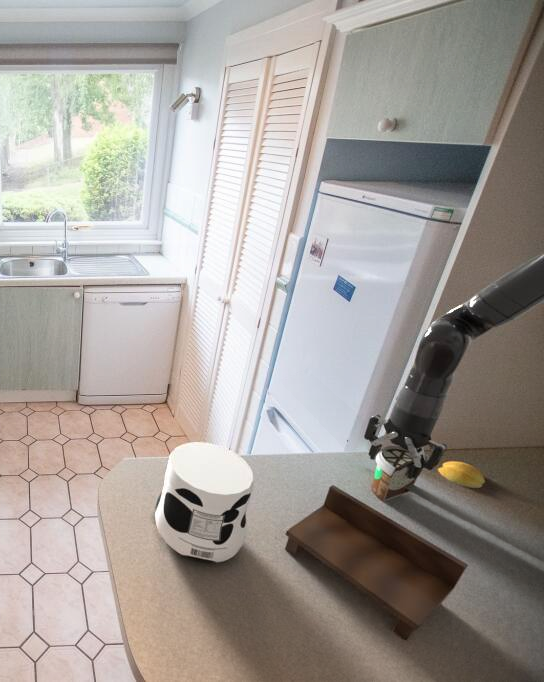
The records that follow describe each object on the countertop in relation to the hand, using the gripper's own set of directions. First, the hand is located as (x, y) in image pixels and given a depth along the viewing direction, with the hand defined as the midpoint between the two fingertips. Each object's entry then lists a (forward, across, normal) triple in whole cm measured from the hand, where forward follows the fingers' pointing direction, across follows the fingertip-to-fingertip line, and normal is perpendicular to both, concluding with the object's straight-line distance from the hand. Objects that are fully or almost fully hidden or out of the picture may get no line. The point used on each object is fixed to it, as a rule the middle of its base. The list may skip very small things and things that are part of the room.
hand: (391, 467), depth 104 cm
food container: (+6, 0, 0) cm, 6 cm away
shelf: (+6, -9, +30) cm, 32 cm away
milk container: (+6, +13, +49) cm, 51 cm away
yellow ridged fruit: (+6, -8, -18) cm, 21 cm away
